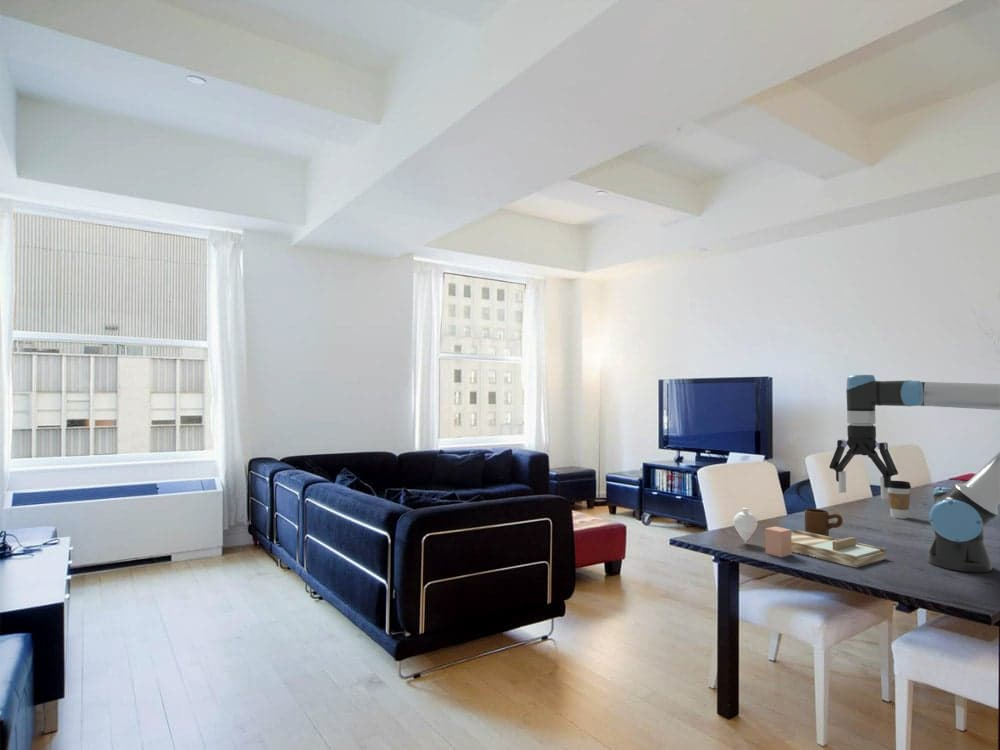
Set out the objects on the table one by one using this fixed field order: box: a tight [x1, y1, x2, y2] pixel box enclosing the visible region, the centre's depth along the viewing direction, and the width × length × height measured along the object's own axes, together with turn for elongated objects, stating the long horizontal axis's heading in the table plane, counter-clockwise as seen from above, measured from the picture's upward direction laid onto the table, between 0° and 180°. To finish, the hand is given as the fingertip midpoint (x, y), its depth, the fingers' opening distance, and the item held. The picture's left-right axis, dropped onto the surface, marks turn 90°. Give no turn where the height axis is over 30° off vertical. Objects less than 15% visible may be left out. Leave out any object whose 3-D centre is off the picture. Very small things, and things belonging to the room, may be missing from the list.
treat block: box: [764, 526, 793, 558], centre depth 190 cm, size 6×6×8 cm
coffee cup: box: [887, 479, 912, 520], centre depth 244 cm, size 8×8×15 cm
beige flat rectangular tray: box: [791, 529, 887, 568], centre depth 192 cm, size 30×17×3 cm, turn 31°
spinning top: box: [732, 507, 758, 544], centre depth 203 cm, size 8×8×12 cm
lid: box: [812, 536, 880, 558], centre depth 187 cm, size 14×15×3 cm
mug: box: [804, 508, 844, 537], centre depth 210 cm, size 12×8×9 cm, turn 51°
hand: (862, 495), depth 182 cm, fingers open, 12 cm apart
